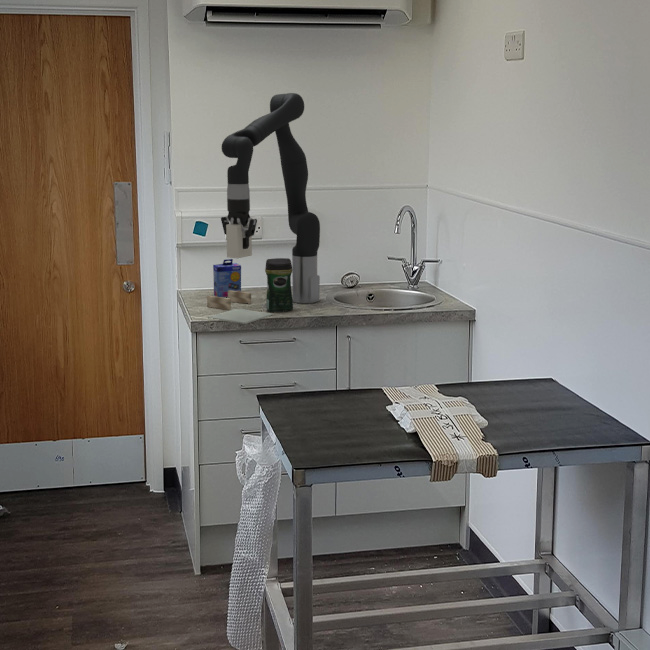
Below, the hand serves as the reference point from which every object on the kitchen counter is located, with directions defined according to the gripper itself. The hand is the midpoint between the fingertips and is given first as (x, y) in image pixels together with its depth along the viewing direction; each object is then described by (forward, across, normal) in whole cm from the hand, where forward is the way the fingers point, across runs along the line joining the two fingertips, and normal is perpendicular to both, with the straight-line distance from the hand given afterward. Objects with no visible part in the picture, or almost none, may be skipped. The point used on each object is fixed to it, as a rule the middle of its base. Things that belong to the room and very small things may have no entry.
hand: (239, 247), depth 320 cm
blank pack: (+3, 0, 0) cm, 3 cm away
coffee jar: (+24, -5, -16) cm, 29 cm away
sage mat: (+24, 0, 0) cm, 24 cm away
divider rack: (+24, +15, -13) cm, 31 cm away
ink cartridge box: (+24, +26, -26) cm, 44 cm away
